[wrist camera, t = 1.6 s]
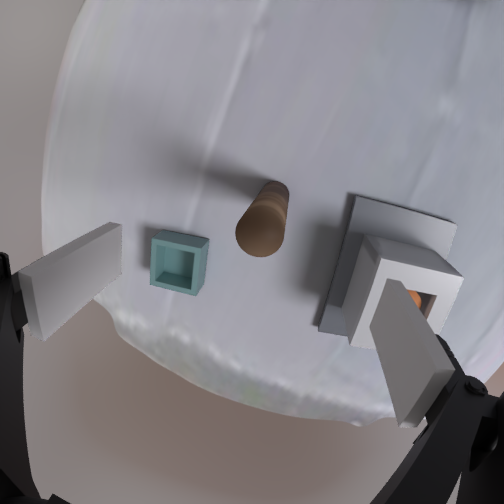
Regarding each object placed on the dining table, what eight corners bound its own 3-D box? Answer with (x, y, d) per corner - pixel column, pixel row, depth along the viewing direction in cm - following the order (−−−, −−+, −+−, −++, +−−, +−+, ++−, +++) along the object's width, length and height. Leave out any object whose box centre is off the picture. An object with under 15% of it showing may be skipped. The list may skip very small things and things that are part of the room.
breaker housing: (355, 195, 34) (373, 211, 26) (454, 222, 33) (490, 245, 25) (317, 327, 41) (320, 370, 32) (408, 341, 40) (426, 382, 31)
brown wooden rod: (263, 178, 35) (239, 205, 20) (291, 184, 35) (288, 215, 20) (259, 205, 36) (232, 251, 21) (286, 211, 36) (278, 261, 21)
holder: (163, 229, 39) (151, 238, 36) (209, 239, 38) (201, 248, 35) (160, 273, 41) (149, 284, 38) (203, 283, 41) (196, 296, 37)
